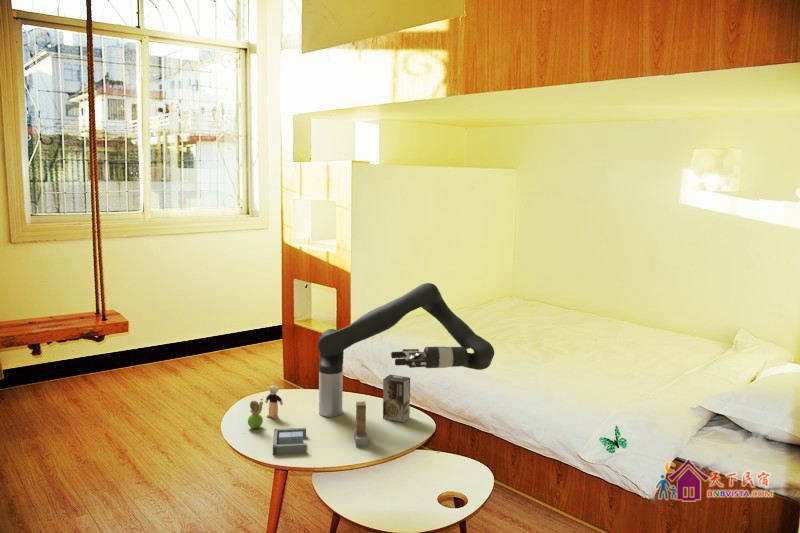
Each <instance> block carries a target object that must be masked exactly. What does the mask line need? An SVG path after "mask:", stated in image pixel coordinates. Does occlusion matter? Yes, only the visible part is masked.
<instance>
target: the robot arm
mask: <svg viewBox="0 0 800 533" xmlns="http://www.w3.org/2000/svg"><path fill="white" fill-rule="evenodd" d="M419 308H421V309H423V310H424V311H426V312H427V313H428V314H429V315H431V316H432V317H434V319H436V321H438V322H439V323H440V324H441V325H442V326H443V327H444V329H445V330H446V331H447V332H448V333H449V334H450V336H451V337H452V338H453V340H455V342H457V344H458V345H459V346H426V347H424V349H423V351H420V349H419V348H411V349H410V348H407V349H405V348H403V349H402V350H401V351H391V353H390V357H391V359H394V365H395V366H406V367H408V368H409V369H413V368H426V369H445V368H452V367H453V368H458V367H459V368H460V367H463V368H468V369H473V370H476V371H477V370H479V371H483V370H486V369H487V368H489V367H490V365H491V364H492V360H493V359H494V356H495V349H494V347H493V345H492V344H491V343H490V342H489V341H488V340H486V339H485V338H483V337H481V336H480V335H478V334H476V333H475V332H474V331H473V329H472V328H471V327H470V326H469V325H468V324H467V323H465V321H463V320H462V319H461V318H460V317H459V316H457V315H456V313H454V312H453V311H452V310H451V309H450V308H449V306H448V304H447V303H446V301H445V300H444V299H443V295H442V293H441V292H440V289H439V287H437V285H436V284H434V283H431V282H426V283H423V284H420V285H418V286H417V287H415V288H413V289H412V290H410V291H409V292H407V293H405V294H403V295H401V296H399V297H398V298H395V299H392V300H391V301H389V302H387V303H385V304H383V305H381V306H378V307H376V308H373V309H372V310H369V311H368V312H366V313H364V314H362V315H361V316H360V317H359V318H357V319H356V320H354V321H353V322H352V323H351V324H349V325H347V326H345V327H343V328H340V329H335V328H329V329H326V330H325V331H323V332H322V334H321V335H320V337H319V340H318V343H317V348H318V351H319V353H320V355H319V363H318V413H319V415H320V416H323V417H325V418H326V417H327V418H328V417H329V418H331V417H339V416H340V415H342V414H343V396H344V395H343V389H344V388H343V383H344V382H343V378H344V377H343V368H344V366H343V365H344V351H345V350H346V349H348V348H349V347H351V346H353V345H355V344H356V343H359V342H362V341H364V340H367V339H370V338H372V337H374V336H377V335H378V334H382V333H383V332H385V331H387V330H390V329H391V328H393V327H394V326H395V325H396V324H398V323H399V322H400V321H401V320H402V319H403V318H404V317H405V316H406V315H407V314H409V313H411V312H413V311H414V310H418V309H419ZM469 349H471V350H472V351H473V352H468V350H469Z"/></svg>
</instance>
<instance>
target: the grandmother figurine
mask: <svg viewBox="0 0 800 533" xmlns="http://www.w3.org/2000/svg"><path fill="white" fill-rule="evenodd" d="M278 392H279V388H278V387H277V386H276V385H271V386H269V394H268V395H267V396H266V398H265V401H264V403H265V404H268V414H267V415H266V418H269V419H270V418H272V419H274V420H276V419H278V418H279V404H280V406H283V405H284V403H283V399H282V398H281V396H279V395H277V393H278ZM278 402H279V404H278Z"/></svg>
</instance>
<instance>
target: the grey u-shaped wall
mask: <svg viewBox="0 0 800 533" xmlns="http://www.w3.org/2000/svg"><path fill="white" fill-rule="evenodd" d="M283 432H303V438H306V437H307V427H295V428H294V427H292V428H275V429H274V430H273V440H272V455H273V456H277V455H278V456H280V455H282V454H283V455H298V454H299V455H301V453H302V454H307V453H308V450H307V448H308V446H307V445H308V444H307V442H306V443H305V442H303V444H283V445H279V444H278V442H279V433H283ZM275 454H276V455H275ZM279 454H280V455H279Z"/></svg>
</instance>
